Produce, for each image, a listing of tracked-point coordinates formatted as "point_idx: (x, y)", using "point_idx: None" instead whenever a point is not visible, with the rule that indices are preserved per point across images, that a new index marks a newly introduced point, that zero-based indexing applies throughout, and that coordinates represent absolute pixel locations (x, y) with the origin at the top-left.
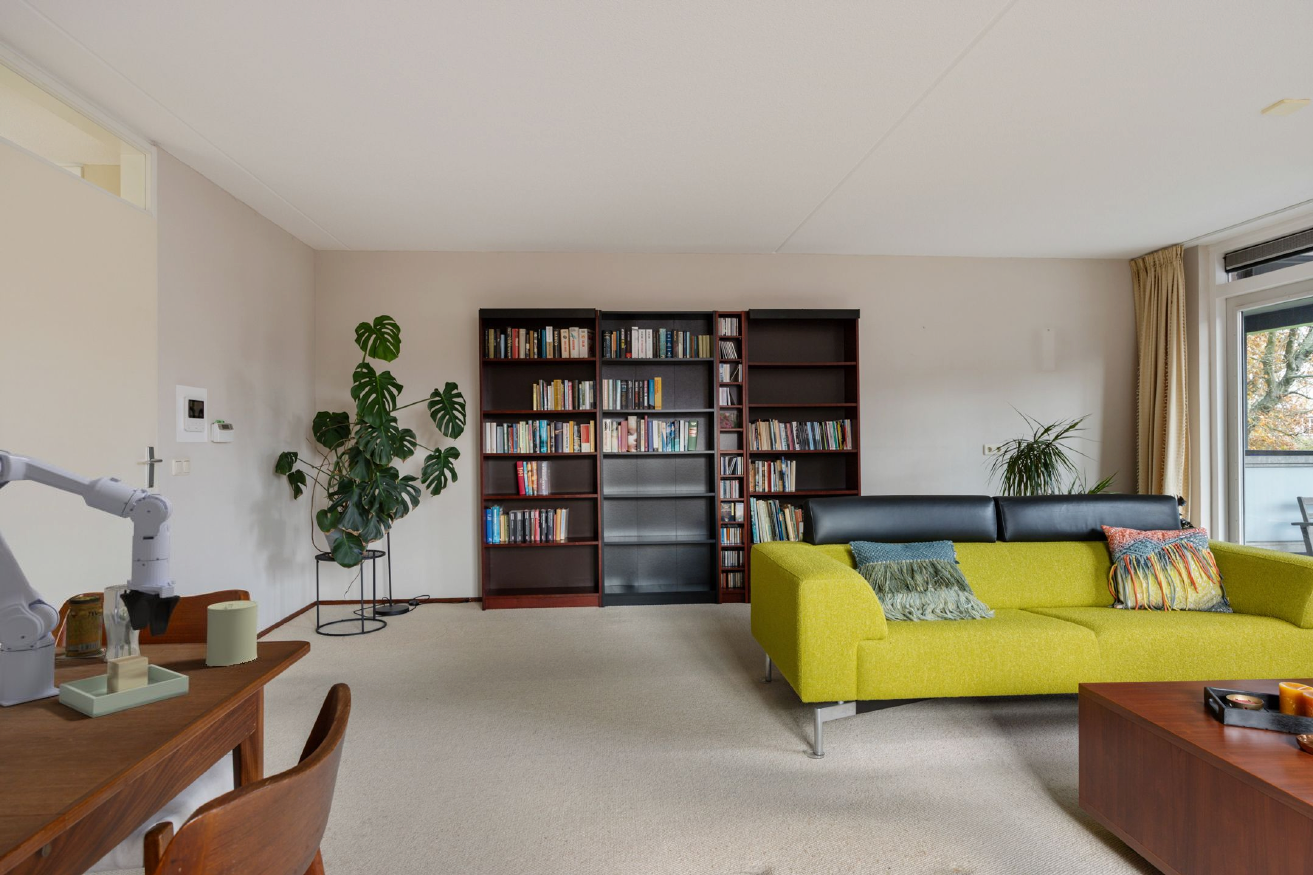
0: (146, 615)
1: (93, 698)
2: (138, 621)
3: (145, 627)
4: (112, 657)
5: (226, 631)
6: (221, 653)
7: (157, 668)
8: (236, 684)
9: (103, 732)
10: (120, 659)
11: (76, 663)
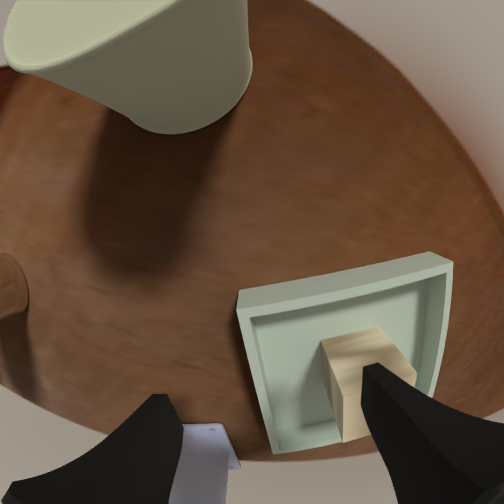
0: (145, 442)
1: None
2: (169, 447)
3: (168, 401)
4: (20, 309)
5: (230, 41)
6: (227, 91)
7: (303, 307)
8: (438, 149)
9: (472, 374)
10: (365, 424)
11: (16, 344)
